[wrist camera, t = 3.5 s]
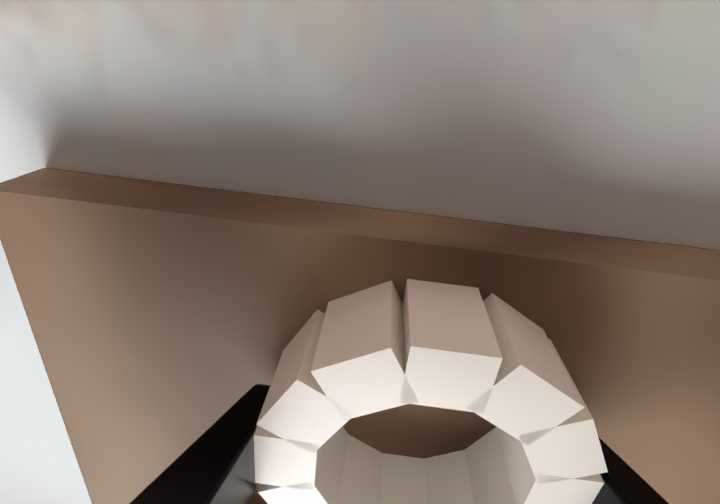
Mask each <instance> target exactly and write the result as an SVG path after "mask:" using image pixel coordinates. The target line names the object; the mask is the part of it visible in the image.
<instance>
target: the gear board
mask: <svg viewBox="0 0 720 504" xmlns="http://www.w3.org/2000/svg"><path fill="white" fill-rule="evenodd" d="M0 240H1V243H2V245H3V248H4V251H5V254H6V257H7V260H8V263H9V266H10V268H11V271H12V274H13V277H14V280H15V283H16V286H17V289H18V291H19V294H20V297H21V300H22V303H23V306H24V309H25V312H26V315H27V317H28V320H29V323H30V326H31V329H32V332H33V335H34V338H35V340H36V343H37V346H38V349H39V352H40V355H41V358H42V361H43V363H44V366H45V369H46V372H47V375H48V378H49V381H50V384H51V386H52V389H53V392H54V395H55V398H56V401H57V404H58V407H59V409H60V412H61V415H62V418H63V421H64V424H65V427H66V430H67V432H68V435H69V438H70V441H71V444H72V447H73V450H74V453H75V455H76V458H77V461H78V464H79V467H80V470H81V473H82V476H83V478H84V481H85V484H86V487H87V490H88V493H89V496H90V499H91V502H92V504H129V503H130V502H131V501H132V500H133V499H135V498H136V497H137V496H138V495H139V494H140V493H141V492H142V491H143V490H144V489H145V488H146V487H147V486H148V485H149V484H150V483H151V482H152V481H154V480H155V479H156V478H157V477H158V476H159V475H160V474H161V473H162V472H163V471H164V470H165V469H166V468H167V467H168V466H169V465H170V464H172V463H173V462H174V461H175V460H176V459H177V458H178V457H179V456H180V455H181V454H182V453H183V452H184V451H185V450H186V449H187V448H188V447H189V446H191V445H192V444H193V443H194V442H195V441H196V440H197V439H198V438H199V437H200V436H201V435H202V434H203V433H204V432H205V431H206V430H207V429H208V428H210V427H211V426H212V425H213V424H214V423H215V422H216V421H217V420H218V419H219V418H220V417H221V416H222V415H223V414H224V413H225V412H226V411H227V410H229V409H230V408H231V407H232V406H233V405H234V404H235V403H236V402H237V401H238V400H239V399H240V398H241V397H242V396H243V395H244V394H245V393H247V392H248V391H249V390H250V389H251V388H252V387H253V386H254V385H256V384H264V385H271V383H272V380H273V377H274V374H275V372H276V369H277V366H278V363H279V361H280V358H281V356H282V353H283V350H284V349H285V347H286V346H287V345H288V344H289V343H290V341H291V340H292V339H293V338H294V337H295V335H296V334H297V333H298V332H299V331H300V329H301V328H302V327H303V326H304V325H305V324H306V322H307V321H308V320H309V319H310V318H311V316H312V315H313V314H314V313H315V312H316V310H317V309H318V310H320V311H321V312H323V313H326V309H327V306H328V302H329V301H332V300H335V299H338V298H341V297H344V296H347V295H350V294H353V293H356V292H359V291H362V290H365V289H368V288H371V287H373V286H376V285H379V284H382V283H385V282H388V281H391V280H392V282H393V284H394V286H395V289H396V291H397V293H398V295H399V297H400V299H401V301H402V303H403V298H404V293H405V287H406V282H407V279H413V280H421V281H429V282H437V283H444V284H452V285H460V286H468V287H476V288H479V291H480V294H481V297H482V300H483V301H484V300H485V299H486V298H487V297H488V296H490V295H491V294H492V293H493V294H494V295H496V296H497V297H499V298H500V299H501V300H503V301H504V302H506V303H507V304H508V305H510V306H511V307H513V308H514V309H515V310H517V311H518V312H520V313H521V314H522V315H524V316H525V317H527V318H528V319H529V320H531V321H532V322H534V323H535V324H536V325H538V326H539V327H541V328H542V329H543V330H544V332H545V334H546V336H547V338H548V339H551V341H552V343H553V345H554V347H555V348H556V350H557V352H558V354H559V356H560V358H561V360H562V362H563V363H564V365H565V367H566V369H567V371H568V373H569V375H570V376H571V378H572V380H573V382H574V384H575V386H576V388H577V389H578V391H579V393H580V395H581V397H582V399H583V401H584V403H585V404H586V406H587V408H588V410H589V412H590V414H591V416H592V417H593V420H594V423H595V427H596V431H597V434H598V437H599V438H600V439H602V440H603V441H604V442H605V443H606V444H607V445H608V446H609V447H610V448H611V449H612V450H613V451H614V452H615V453H616V454H617V455H618V456H619V457H621V458H622V459H623V460H624V461H625V462H626V463H627V464H628V465H629V466H630V467H631V468H632V469H633V470H634V471H635V472H636V473H637V474H638V475H640V476H641V477H642V478H643V479H644V480H645V481H646V482H647V483H648V484H649V485H650V486H651V487H652V488H653V489H654V490H655V491H656V492H657V493H658V494H660V495H661V496H662V497H663V498H664V499H665V500H666V501H667V502H668V503H669V504H720V251H718V250H709V249H701V248H693V247H685V246H677V245H669V244H660V243H652V242H644V241H636V240H628V239H619V238H611V237H603V236H595V235H587V234H579V233H570V232H562V231H554V230H546V229H538V228H529V227H521V226H513V225H505V224H497V223H488V222H480V221H472V220H464V219H456V218H448V217H439V216H431V215H423V214H415V213H407V212H398V211H390V210H382V209H374V208H366V207H358V206H349V205H341V204H333V203H325V202H317V201H308V200H300V199H292V198H284V197H276V196H267V195H259V194H251V193H243V192H235V191H227V190H218V189H210V188H202V187H194V186H186V185H177V184H169V183H161V182H153V181H145V180H136V179H128V178H120V177H112V176H104V175H96V174H87V173H79V172H71V171H63V170H55V169H46V168H43V169H40V170H37V171H34V172H31V173H28V174H25V175H22V176H20V177H17V178H14V179H11V180H8V181H5V182H2V183H0ZM343 427H344V429H345V430H346V432H347V433H348V434H349V435H351V436H353V437H354V438H356V439H358V440H360V441H362V442H363V443H365V444H367V445H369V446H371V447H372V448H374V449H376V450H378V451H380V452H381V453H386V454H394V455H401V456H409V457H416V458H423V459H424V458H429V457H433V456H438V455H443V454H447V453H452V452H456V451H461V450H465V449H466V448H468V447H469V446H471V445H472V444H473V443H475V442H476V441H477V440H479V439H480V438H482V437H483V436H484V435H486V434H487V433H488V432H490V431H491V430H493V429H494V428H495V427H496V426H495V425H494V424H492V423H490V422H489V421H487V420H485V419H484V418H482V417H481V416H479V415H477V414H476V413H474V412H468V411H460V410H453V409H445V408H438V407H430V406H423V405H415V404H406V405H402V406H398V407H394V408H390V409H386V410H382V411H379V412H375V413H371V414H367V415H363V416H359V417H355V418H351V419H350V420H349V421H348V422H346V423H345V424H344V425H343ZM259 487H260V483H258V484H257V488H256V491H255V495H254V498H253V501H256V503H257V504H268V503H267V502H266V501H265V500H264V499H263V497H262V496H261V495H260V494H259V493H258V491H259Z"/></svg>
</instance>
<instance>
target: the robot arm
mask: <svg viewBox="0 0 720 504" xmlns="http://www.w3.org/2000/svg"><path fill="white" fill-rule="evenodd" d="M269 388H270V385H264V384H256V385H254V386H253V387H252V388H251V389H250V390H249V391H248V392H247V393H245V394H244V395H243V396H242V397H241V398H240V399H239V400H238V401H237V402H236V403H235V404H234V405H233V406H232V407H231V408H230V409H229V410H227V411H226V412H225V413H224V414H223V415H222V416H221V417H220V418H219V419H218V420H217V421H216V422H215V423H214V424H213V425H212V426H211V427H210V428H208V429H207V430H206V431H205V432H204V433H203V434H202V435H201V436H200V437H199V438H198V439H197V440H196V441H195V442H194V443H193V444H192V445H191V446H189V447H188V448H187V449H186V450H185V451H184V452H183V453H182V454H181V455H180V456H179V457H178V458H177V459H176V460H175V461H174V462H173V463H172V464H170V465H169V466H168V467H167V468H166V469H165V470H164V471H163V472H162V473H161V474H160V475H159V476H158V477H157V478H156V479H155V480H154V481H152V482H151V483H150V484H149V485H148V486H147V487H146V488H145V489H144V490H143V491H142V492H141V493H140V494H139V495H138V496H137V497H136V498H135V499H133V500H132V501H131V502H130V503H129V504H252V501H253V498H254V495H255V491H256V488H257V484H258V483H255V462H254V433H255V431H256V428H257V425H256V424H257V421H258V418H259V415H260V413H261V410H262V407H263V404H264V402H265V399H266V396H267V393H268V391H269ZM598 438H599V437H598ZM599 441H600V445H601V449H602V452H603V456H604V459H605V463H606V467H607V470H608V472H606V473H600V475H601V477H602V479H603V481H604V485H603V486H602V488H601V489H600V491H599V493H598V494H597V496H596V498H595V499H594V501H593V502H592V504H669V503H668V502H667V501H666V500H665V499H664V498H663V497H662V496H661V495H660V494H658V493H657V492H656V491H655V490H654V489H653V488H652V487H651V486H650V485H649V484H648V483H647V482H646V481H645V480H644V479H643V478H642V477H641V476H640V475H638V474H637V473H636V472H635V471H634V470H633V469H632V468H631V467H630V466H629V465H628V464H627V463H626V462H625V461H624V460H623V459H622V458H621V457H619V456H618V455H617V454H616V453H615V452H614V451H613V450H612V449H611V448H610V447H609V446H608V445H607V444H606V443H605V442H604V441H603V440H602V439H600V438H599Z"/></svg>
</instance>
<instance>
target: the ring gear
mask: <svg viewBox="0 0 720 504" xmlns="http://www.w3.org/2000/svg"><path fill="white" fill-rule="evenodd" d="M406 404H415V405H423V406H430V407H438V408H445V409H453V410H460V411H468V412H474V413H476V414H477V415H479V416H481V417H482V418H484V419H485V420H487V421H489V422H490V423H492V424H494V425H495V426H496V427H495V428H494V429H493V430H491V431H490V432H488V433H487V434H486V435H484V436H483V437H482V438H480V439H479V440H477V441H476V442H475V443H473V444H472V445H471V446H469V447H468V448H466V449H465V450H461V451H456V452H452V453H447V454H443V455H438V456H433V457H429V458H424V459H423V458H416V457H409V456H401V455H394V454H386V453H381V452H380V451H378V450H376V449H374V448H372V447H371V446H369V445H367V444H365V443H363V442H362V441H360V440H358V439H356V438H354V437H353V436H351V435H349V434H348V433H347V432H346V430H345V429H344V427H343V425H344V424H345V423H346V422H348V421H349V420H350V419H351V418H355V417H359V416H363V415H367V414H371V413H375V412H379V411H382V410H386V409H390V408H394V407H398V406H402V405H406ZM256 425H257V428H256V431H255V433H254V462H255V483H260V487H259V491H258V493H259V494H260V495H261V496H262V497H263V499H264V500H265V501H266V502H267V503H268V504H592V502H593V501H594V499H595V498H596V496H597V494H598V493H599V491H600V489H601V488H602V486H603V485H604V481H603V479H602V477H601V475H600V473H606V472H608V470H607V467H606V463H605V459H604V456H603V452H602V449H601V445H600V441H599V438H598V434H597V431H596V427H595V423H594V420H593V417H592V416H591V414H590V412H589V410H588V408H587V406H586V404H585V403H584V401H583V399H582V397H581V395H580V393H579V391H578V389H577V388H576V386H575V384H574V382H573V380H572V378H571V376H570V375H569V373H568V371H567V369H566V367H565V365H564V363H563V362H562V360H561V358H560V356H559V354H558V352H557V350H556V348H555V347H554V345H553V343H552V341H551V339H548V338H547V336H546V334H545V332H544V330H543V329H542V328H541V327H539V326H538V325H536V324H535V323H534V322H532V321H531V320H529V319H528V318H527V317H525V316H524V315H522V314H521V313H520V312H518V311H517V310H515V309H514V308H513V307H511V306H510V305H508V304H507V303H506V302H504V301H503V300H501V299H500V298H499V297H497V296H496V295H494V294H493V293H492V294H491V295H490V296H488V297H487V298H486V299H485V300H484V301H483V300H482V297H481V294H480V291H479V288H476V287H468V286H460V285H452V284H444V283H437V282H429V281H421V280H413V279H407V282H406V287H405V293H404V298H403V303H402V301H401V299H400V297H399V295H398V293H397V291H396V289H395V286H394V284H393V282H392V280H391V281H388V282H385V283H382V284H379V285H376V286H373V287H371V288H368V289H365V290H362V291H359V292H356V293H353V294H350V295H347V296H344V297H341V298H338V299H335V300H332V301H329V302H328V306H327V309H326V313H323V312H321V311H320V310H318V309H317V310H316V312H315V313H314V314H313V315H312V316H311V318H310V319H309V320H308V321H307V322H306V324H305V325H304V326H303V327H302V328H301V329H300V331H299V332H298V333H297V334H296V335H295V337H294V338H293V339H292V340H291V341H290V343H289V344H288V345H287V346H286V347H285V349H284V350H283V353H282V356H281V358H280V361H279V363H278V366H277V369H276V372H275V374H274V377H273V380H272V383H271V385H270V388H269V391H268V393H267V396H266V399H265V402H264V404H263V407H262V410H261V413H260V415H259V418H258V421H257V424H256Z"/></svg>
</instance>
